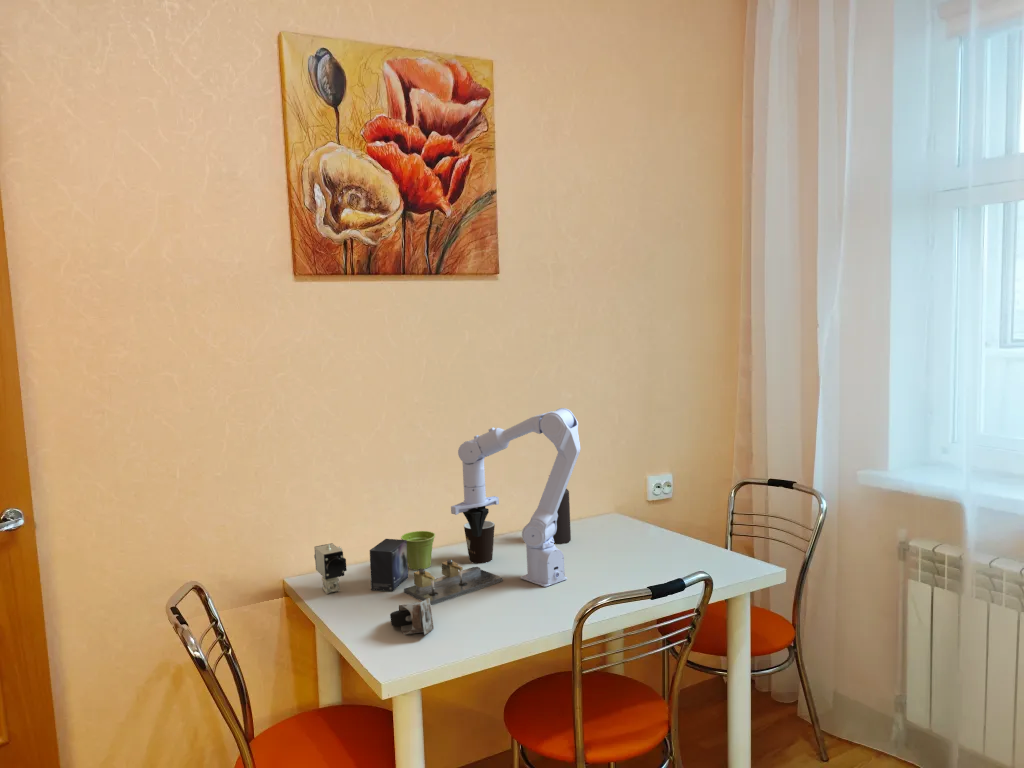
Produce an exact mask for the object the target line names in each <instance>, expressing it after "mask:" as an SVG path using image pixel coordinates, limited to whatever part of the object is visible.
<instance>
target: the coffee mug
mask: <svg viewBox="0 0 1024 768" xmlns="http://www.w3.org/2000/svg"><path fill="white" fill-rule="evenodd" d="M495 524H496V523H495V522H493V521H490V520H485V521H484V524H483V528H482V533H481V536H479V537H475V536H473V535H472V531H471V528H470V525H469V523H468V522H466V523H464V524H463V529H464V535H465V542H466V547H467V553H468V559H469V562H470V563H472V562H473V563H472V564H487V563H490V562H492V561H493V555H494V554H493V552H494V538H495V526H496V525H495ZM491 560H492V561H491ZM486 562H487V563H486Z"/></svg>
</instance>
